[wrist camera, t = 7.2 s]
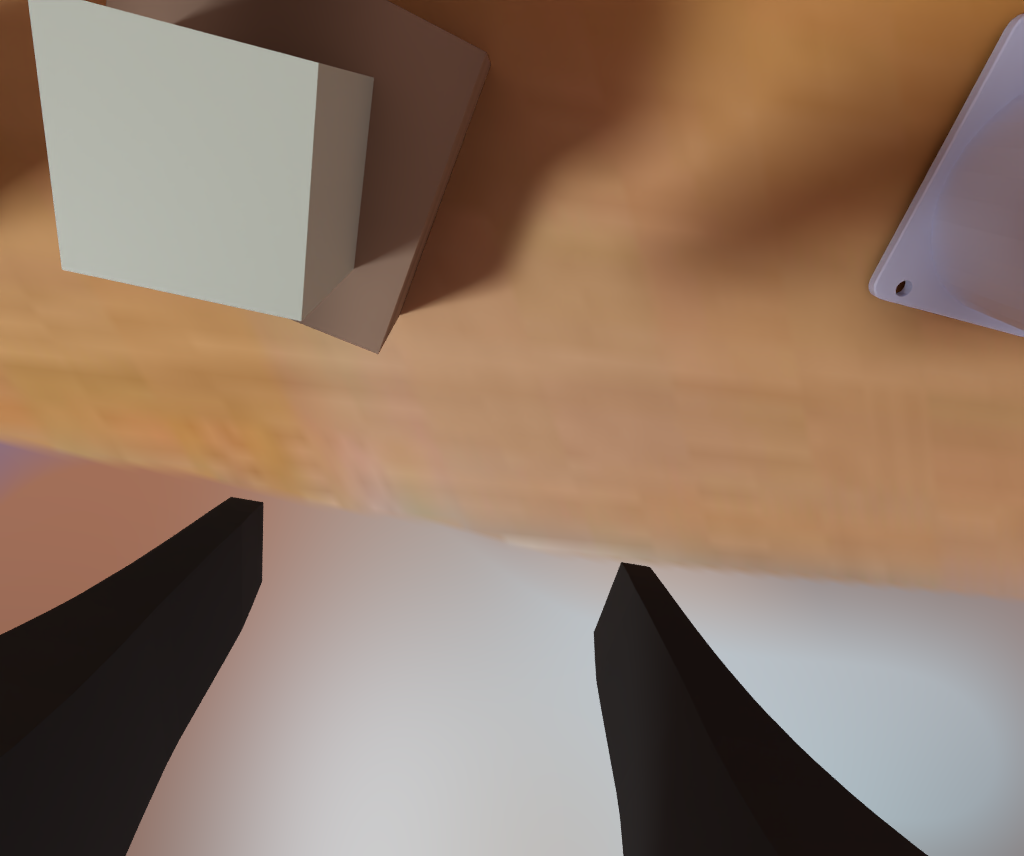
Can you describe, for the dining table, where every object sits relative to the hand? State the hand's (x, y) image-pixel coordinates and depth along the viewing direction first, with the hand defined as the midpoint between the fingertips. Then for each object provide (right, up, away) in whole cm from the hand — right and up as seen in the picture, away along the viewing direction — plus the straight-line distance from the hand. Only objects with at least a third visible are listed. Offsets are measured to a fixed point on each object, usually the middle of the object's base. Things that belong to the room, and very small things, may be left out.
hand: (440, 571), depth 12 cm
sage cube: (-4, +10, +2) cm, 11 cm away
